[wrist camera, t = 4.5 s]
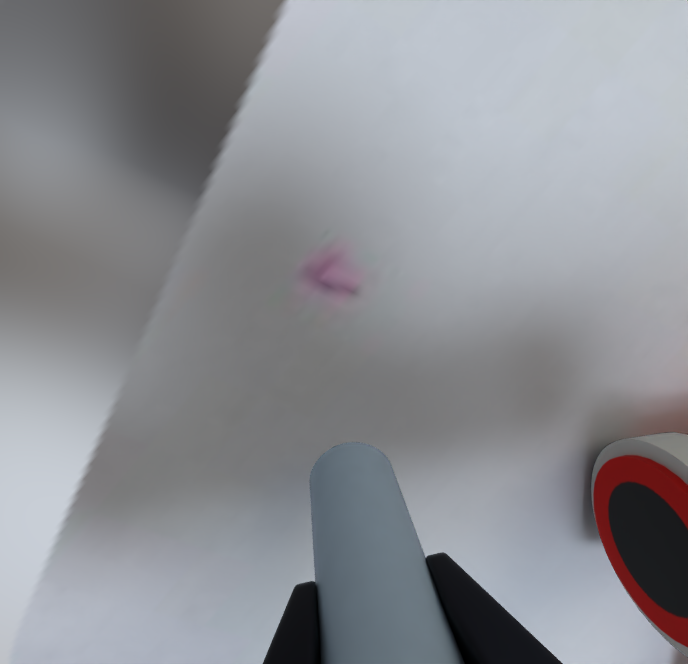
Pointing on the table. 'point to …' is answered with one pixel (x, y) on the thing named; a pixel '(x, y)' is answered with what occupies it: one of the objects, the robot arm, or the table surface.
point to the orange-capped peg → (372, 567)
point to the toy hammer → (647, 525)
